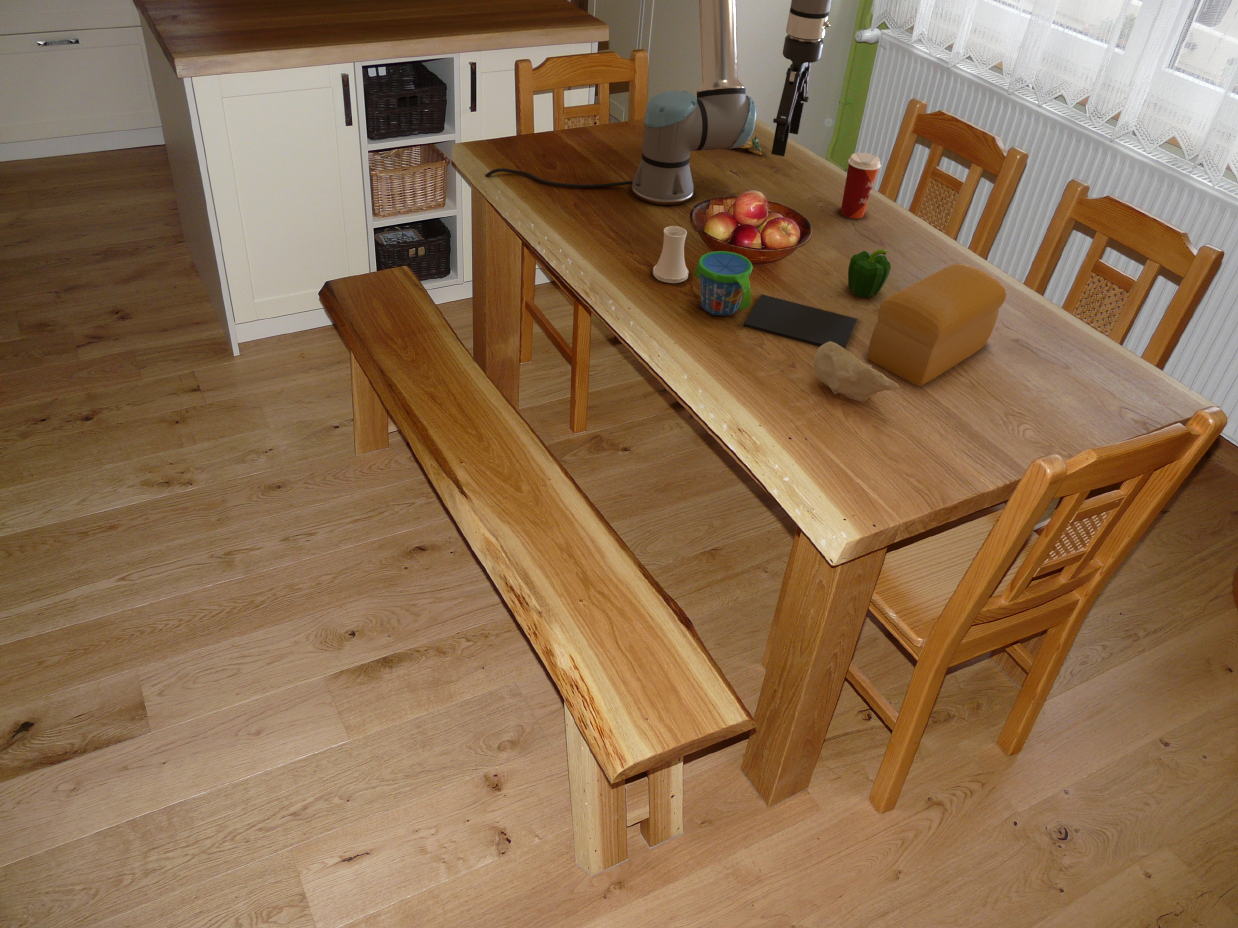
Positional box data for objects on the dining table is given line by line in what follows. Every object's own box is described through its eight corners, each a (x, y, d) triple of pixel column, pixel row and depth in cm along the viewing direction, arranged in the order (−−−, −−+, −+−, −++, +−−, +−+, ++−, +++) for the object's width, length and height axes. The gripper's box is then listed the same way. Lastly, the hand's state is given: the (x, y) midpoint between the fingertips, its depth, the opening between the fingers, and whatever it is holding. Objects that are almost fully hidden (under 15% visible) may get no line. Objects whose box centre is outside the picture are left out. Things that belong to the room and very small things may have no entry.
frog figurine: (741, 160, 249) (745, 102, 240) (703, 143, 262) (705, 88, 253) (769, 154, 253) (774, 98, 244) (731, 138, 265) (734, 83, 257)
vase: (695, 275, 198) (700, 232, 192) (672, 287, 194) (677, 243, 187) (668, 262, 202) (673, 219, 196) (645, 273, 198) (649, 230, 191)
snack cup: (677, 294, 192) (683, 249, 185) (721, 285, 196) (728, 241, 189) (715, 332, 181) (722, 286, 175) (761, 322, 185) (769, 277, 179)
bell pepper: (840, 296, 195) (850, 253, 189) (846, 279, 201) (857, 237, 195) (879, 306, 194) (892, 262, 187) (885, 288, 200) (897, 245, 193)
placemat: (743, 326, 184) (743, 323, 184) (761, 296, 193) (761, 294, 193) (842, 352, 179) (843, 349, 178) (856, 321, 188) (856, 318, 188)
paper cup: (867, 222, 224) (882, 166, 215) (835, 218, 225) (848, 161, 216) (867, 209, 230) (881, 154, 221) (836, 204, 231) (849, 149, 222)
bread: (920, 388, 171) (944, 318, 161) (863, 357, 178) (882, 288, 168) (989, 345, 184) (1014, 278, 175) (933, 317, 191) (955, 251, 182)
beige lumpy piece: (800, 375, 175) (803, 366, 161) (823, 343, 175) (828, 331, 160) (868, 421, 173) (877, 417, 159) (892, 389, 173) (903, 382, 158)
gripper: (811, 57, 172) (790, 168, 186) (834, 24, 190) (813, 127, 204) (772, 50, 173) (753, 161, 187) (798, 18, 192) (780, 121, 205)
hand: (785, 143), depth 196 cm, fingers open, 13 cm apart
